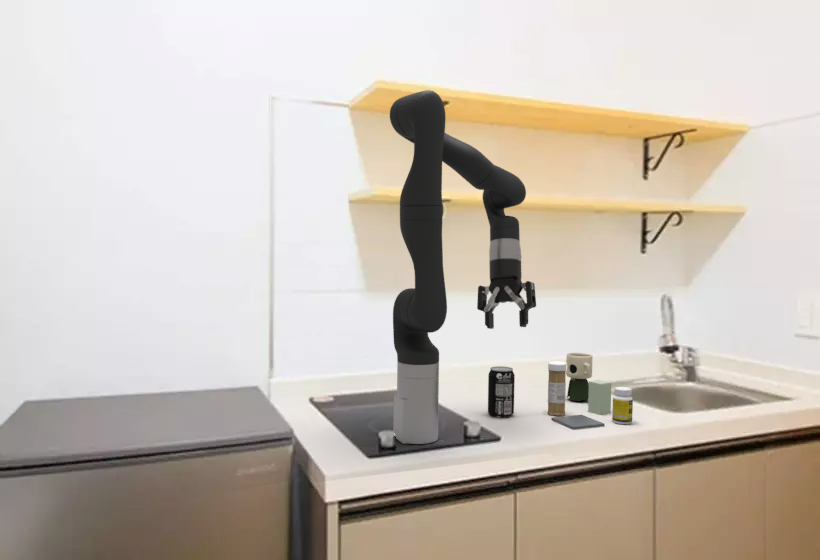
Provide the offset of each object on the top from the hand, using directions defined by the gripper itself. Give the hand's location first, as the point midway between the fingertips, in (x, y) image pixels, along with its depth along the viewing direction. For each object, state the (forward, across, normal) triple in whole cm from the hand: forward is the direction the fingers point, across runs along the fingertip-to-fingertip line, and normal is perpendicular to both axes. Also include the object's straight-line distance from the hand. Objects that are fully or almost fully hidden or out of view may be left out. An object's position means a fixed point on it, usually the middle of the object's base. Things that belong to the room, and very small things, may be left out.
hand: (506, 327), depth 151 cm
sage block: (+20, +10, +32) cm, 39 cm away
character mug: (+18, +1, +42) cm, 45 cm away
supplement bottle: (+22, +18, +26) cm, 39 cm away
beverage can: (+21, -9, +14) cm, 27 cm away
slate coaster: (+22, +9, +19) cm, 31 cm away
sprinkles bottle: (+21, +2, +24) cm, 31 cm away
